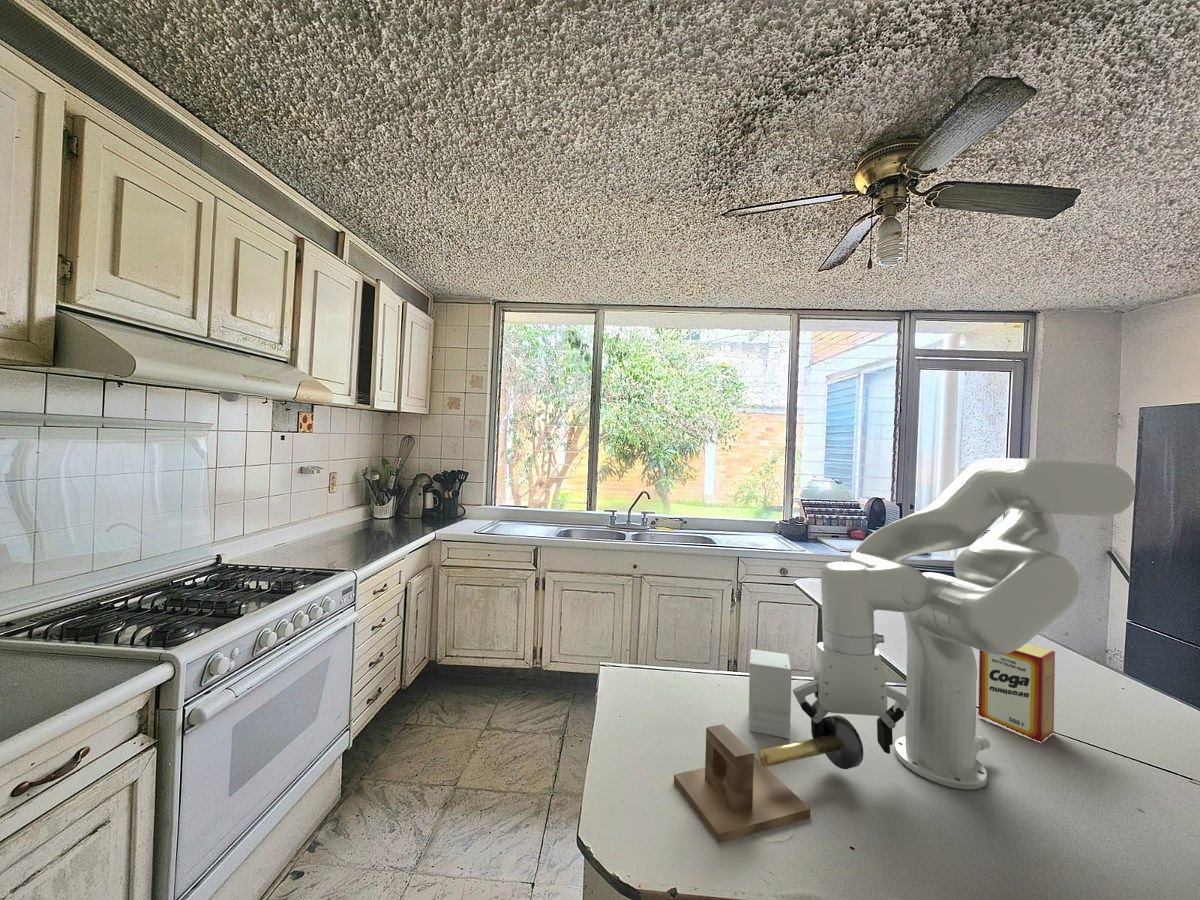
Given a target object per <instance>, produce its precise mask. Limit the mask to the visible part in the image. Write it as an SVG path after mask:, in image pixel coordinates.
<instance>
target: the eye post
mask: <svg viewBox="0 0 1200 900" xmlns="http://www.w3.org/2000/svg"><path fill="white" fill-rule="evenodd" d="M705 729H706V730H705V760H704V761H705V762H704V763H705V764H704V767H702V768H698V769H692V770H688V771H684V772H679V773H674V775H673V783H674V784H675V786H676V787H677V788H678V790H679V791H680V793H681V794H682V796H684V799H685V800H686V801H687V802H688V804H689V805H690V807H691V808H692V809H693V811H694V812H695V813H696V814H697V816H698V817H699V818H700V820H701V822H702V823H703V824H704V826H705V827H706V828H707V830H708V831H709V832H710V834H711V835H712V836H713V838H714V839H715V840H716V842H717V844H721V843H725V842H728V841H732V840H735V839H739V838H742V837H746V836H749V835H752V834H756V833H760V832H764V831H767V830H771V829H775V828H777V827H778V828H779V827H782V826H785V825H789V824H791V823H792V824H793V823H796V822H799V821H804V820H806V819H809V818H811V807H809V806H808V805H807V804H806V803H805V802H804V801H803V800H802V799H800V797H798V795H796V794H795V793H794V792H793V791H792V790H791V789H790V788H789V787H788V786H787V785H786V784H785V783H783V781H782V780H781V779H780V778H778V777H777V775H775V774H774V773H773V772H772V771H771V770H770V769H769V768H768V767H764V766H763V765H762V764H761V762H760V759H758V758H757V757H756V756H755V753H754V751H753V750H752V749H751V748H749V747H748V746H747V745H746V744H745V743H744V742H743V741H742V740H741V739H740V738H739V737H737V736H736V734H735V733H733V732H732V731H731V730H730V729H729V728H728V727H727V726H726V725H724V723H722V724H717V725H712V726H707V727H706V728H705Z"/></svg>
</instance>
